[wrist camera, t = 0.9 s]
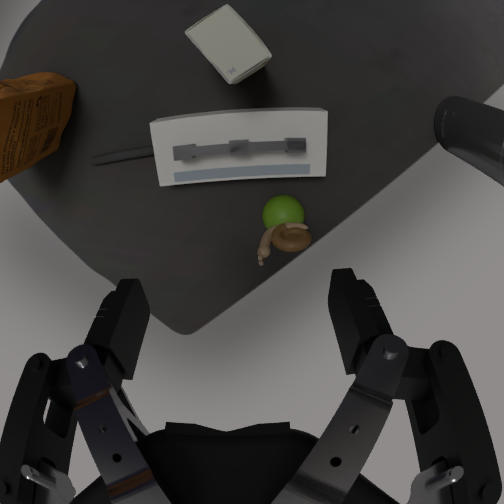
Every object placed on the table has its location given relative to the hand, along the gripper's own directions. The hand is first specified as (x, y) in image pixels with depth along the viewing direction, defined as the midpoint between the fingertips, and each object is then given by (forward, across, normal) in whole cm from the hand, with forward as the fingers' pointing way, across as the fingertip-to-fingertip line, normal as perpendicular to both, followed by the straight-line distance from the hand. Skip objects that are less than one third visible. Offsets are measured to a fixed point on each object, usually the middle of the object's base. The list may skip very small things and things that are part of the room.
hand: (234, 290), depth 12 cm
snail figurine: (+27, -4, +10) cm, 29 cm away
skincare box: (+27, 0, -11) cm, 29 cm away
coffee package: (+27, +27, -9) cm, 39 cm away
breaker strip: (+27, +5, 0) cm, 28 cm away
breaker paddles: (+24, 0, 0) cm, 24 cm away
